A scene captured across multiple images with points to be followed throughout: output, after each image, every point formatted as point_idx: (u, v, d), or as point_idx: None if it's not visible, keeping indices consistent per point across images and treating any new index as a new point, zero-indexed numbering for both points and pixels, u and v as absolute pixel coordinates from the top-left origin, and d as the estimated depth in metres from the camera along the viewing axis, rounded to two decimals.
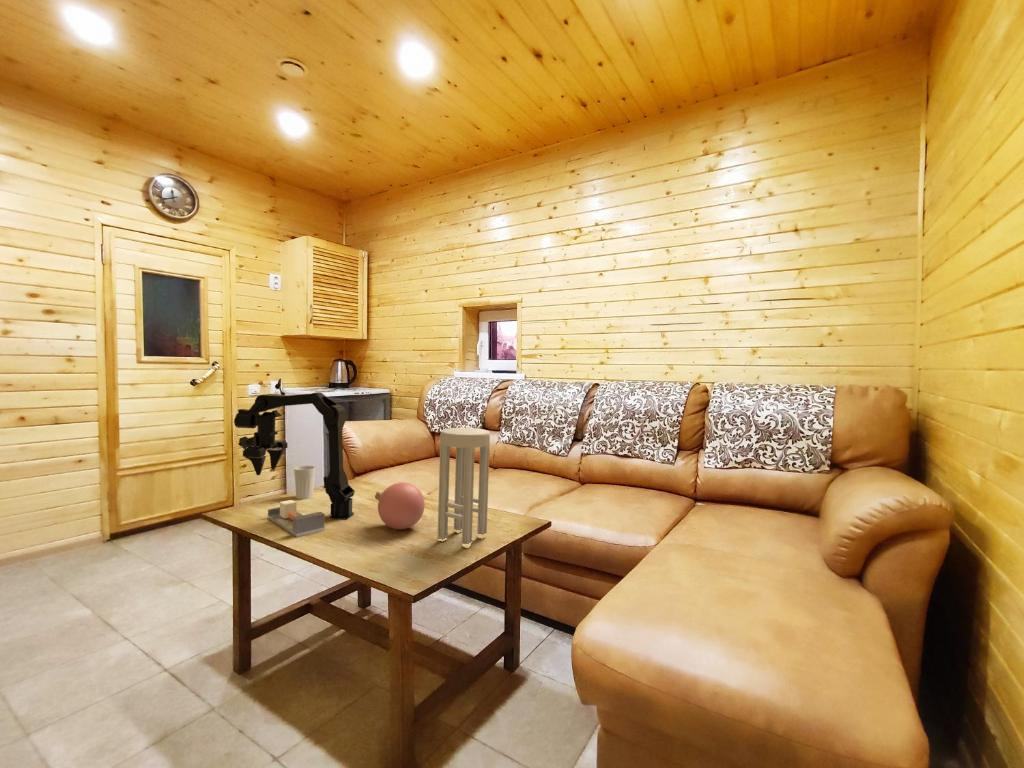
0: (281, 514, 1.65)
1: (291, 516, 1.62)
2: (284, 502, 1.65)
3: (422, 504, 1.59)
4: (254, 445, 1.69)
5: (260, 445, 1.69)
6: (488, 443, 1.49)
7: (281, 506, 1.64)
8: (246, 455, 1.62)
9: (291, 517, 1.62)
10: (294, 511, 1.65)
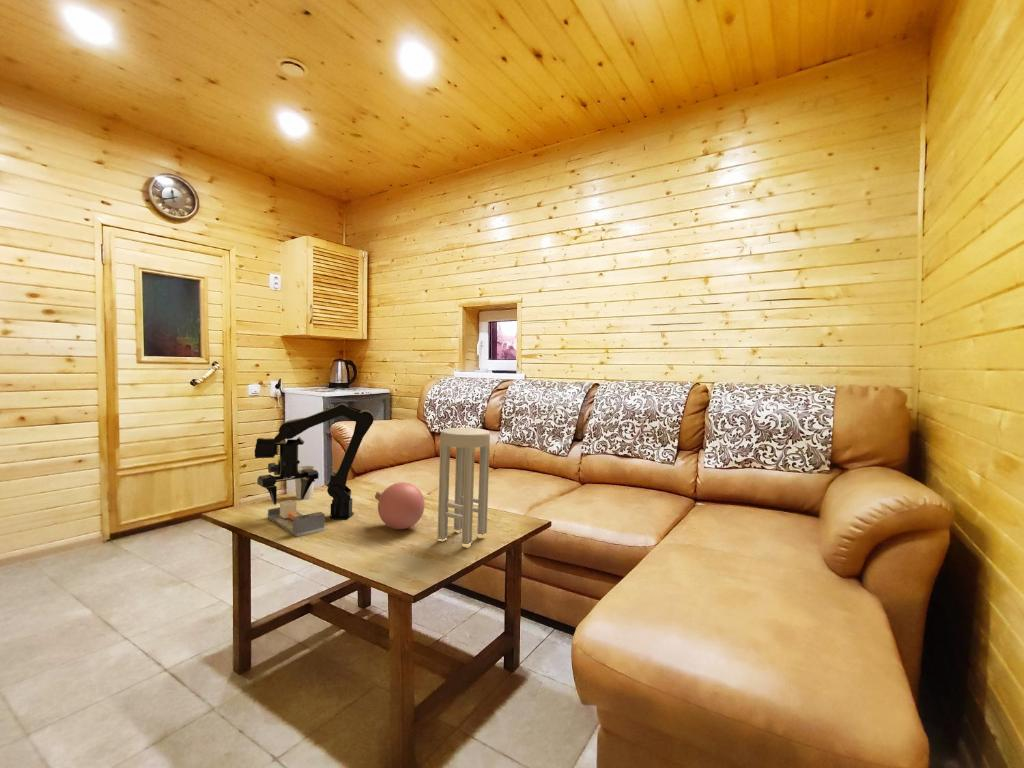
0: (281, 514, 1.65)
1: (291, 516, 1.62)
2: (284, 502, 1.65)
3: (422, 504, 1.59)
4: (277, 473, 1.65)
5: (280, 474, 1.63)
6: (488, 443, 1.49)
7: (281, 506, 1.64)
8: (258, 483, 1.59)
9: (291, 517, 1.62)
10: (294, 511, 1.65)
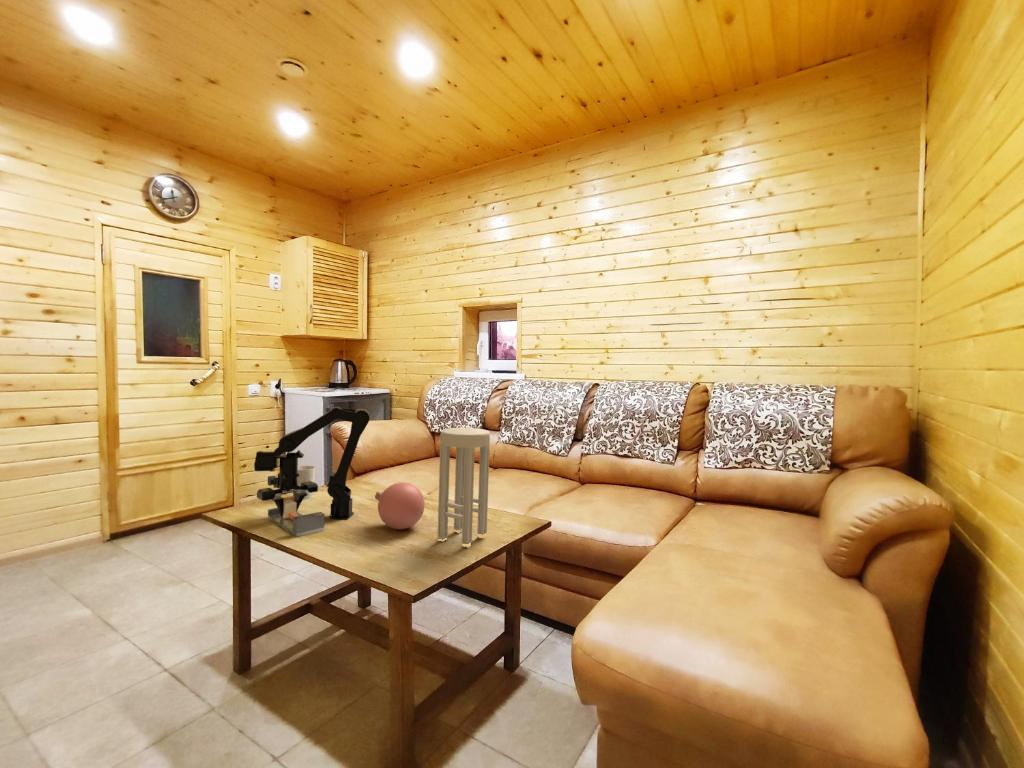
0: None
1: (291, 516, 1.62)
2: (284, 502, 1.65)
3: (422, 504, 1.59)
4: (276, 486, 1.65)
5: (279, 487, 1.63)
6: (488, 443, 1.49)
7: None
8: (258, 496, 1.59)
9: (291, 517, 1.62)
10: (294, 511, 1.65)
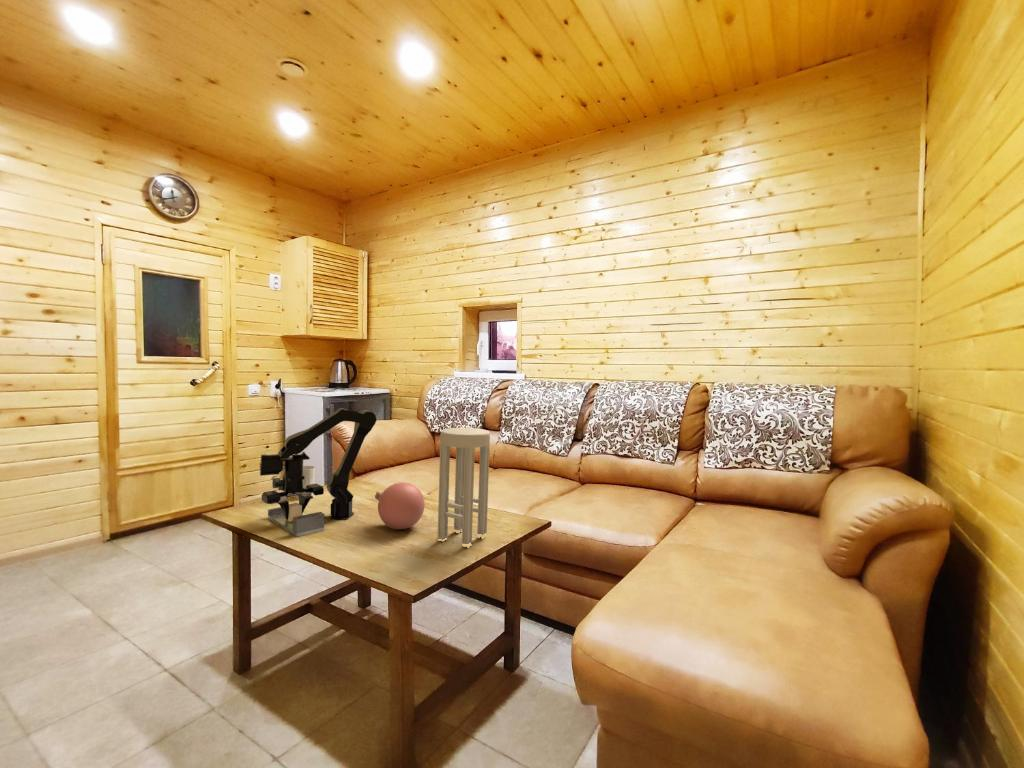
0: None
1: None
2: (289, 505, 1.62)
3: (422, 504, 1.59)
4: (281, 488, 1.62)
5: (284, 489, 1.60)
6: (488, 443, 1.49)
7: None
8: (262, 499, 1.56)
9: None
10: (299, 514, 1.62)
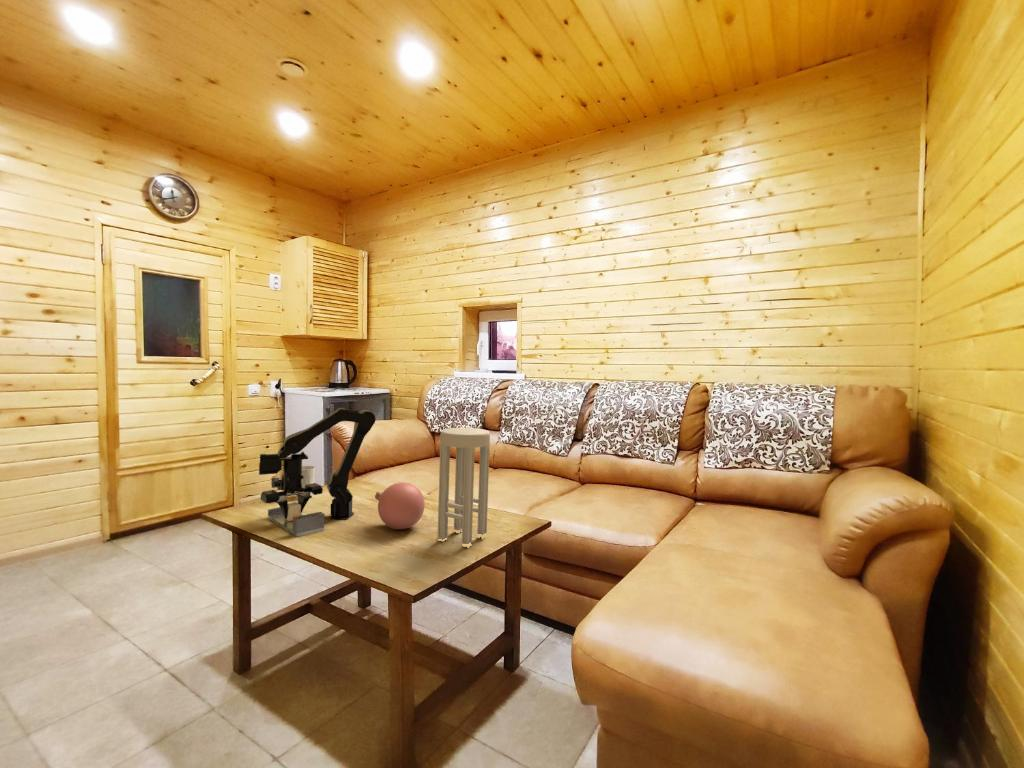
0: None
1: None
2: (288, 504, 1.62)
3: (422, 504, 1.59)
4: (280, 488, 1.62)
5: (283, 489, 1.61)
6: (488, 443, 1.49)
7: None
8: (261, 499, 1.57)
9: None
10: (298, 513, 1.63)
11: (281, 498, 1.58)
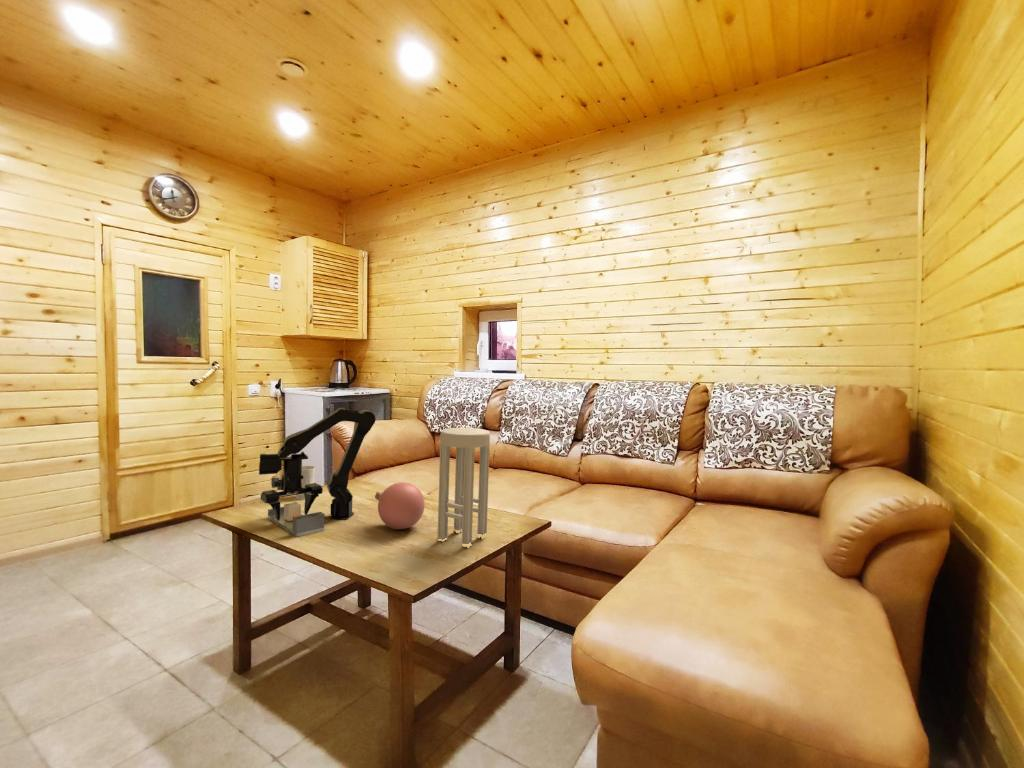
0: (285, 516, 1.62)
1: None
2: (288, 504, 1.62)
3: (422, 504, 1.59)
4: (280, 488, 1.62)
5: (283, 489, 1.61)
6: (488, 443, 1.49)
7: (285, 508, 1.62)
8: (261, 499, 1.57)
9: None
10: (298, 513, 1.63)
11: None
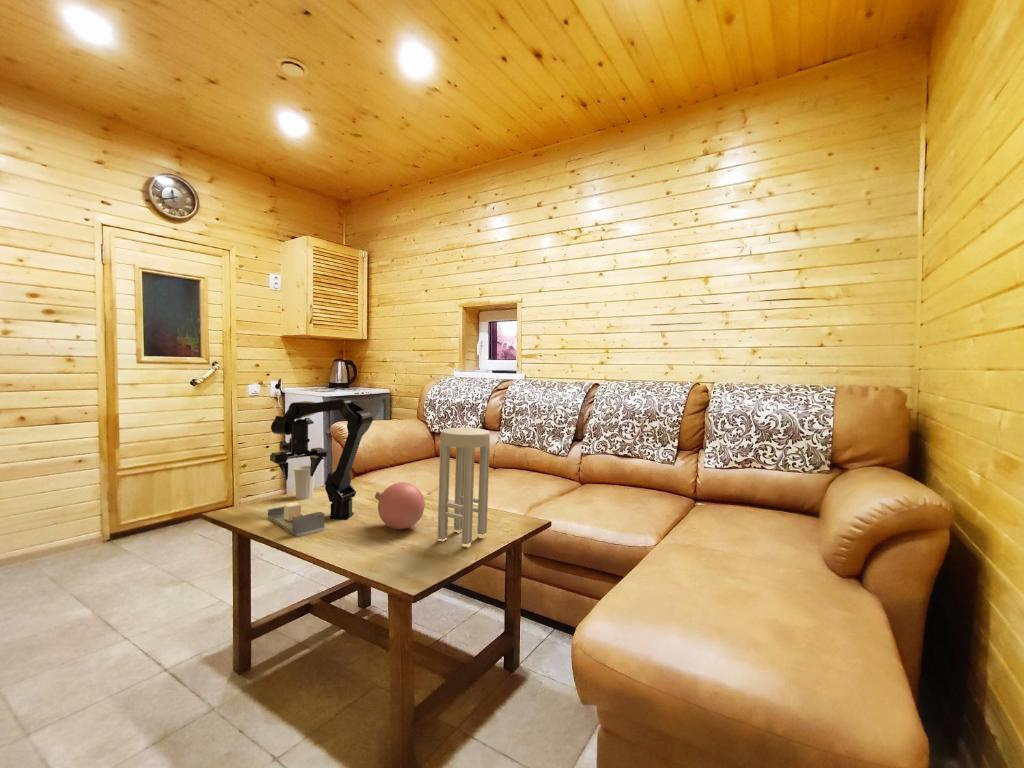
0: (285, 516, 1.62)
1: None
2: (288, 504, 1.62)
3: (422, 504, 1.59)
4: (288, 450, 1.74)
5: (291, 451, 1.73)
6: (488, 443, 1.49)
7: (285, 508, 1.62)
8: (271, 459, 1.69)
9: None
10: (298, 513, 1.63)
11: None
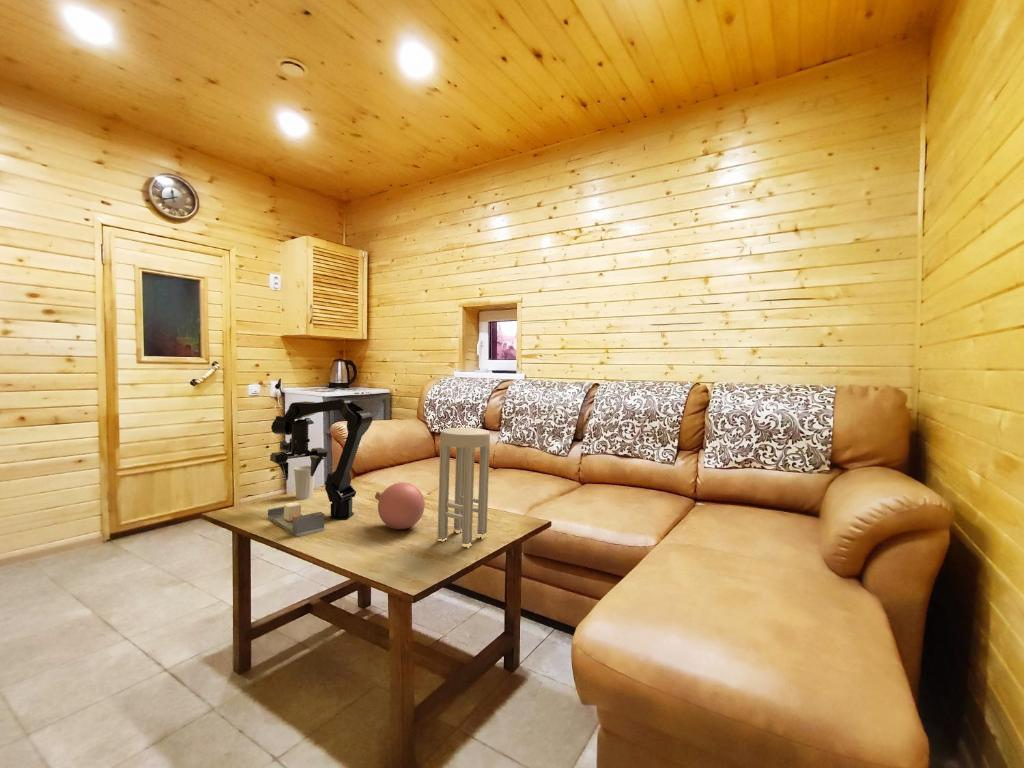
0: (285, 516, 1.62)
1: None
2: (288, 504, 1.62)
3: (422, 504, 1.59)
4: (288, 450, 1.74)
5: (291, 451, 1.73)
6: (488, 443, 1.49)
7: (285, 508, 1.62)
8: (271, 459, 1.69)
9: None
10: (298, 513, 1.63)
11: None
